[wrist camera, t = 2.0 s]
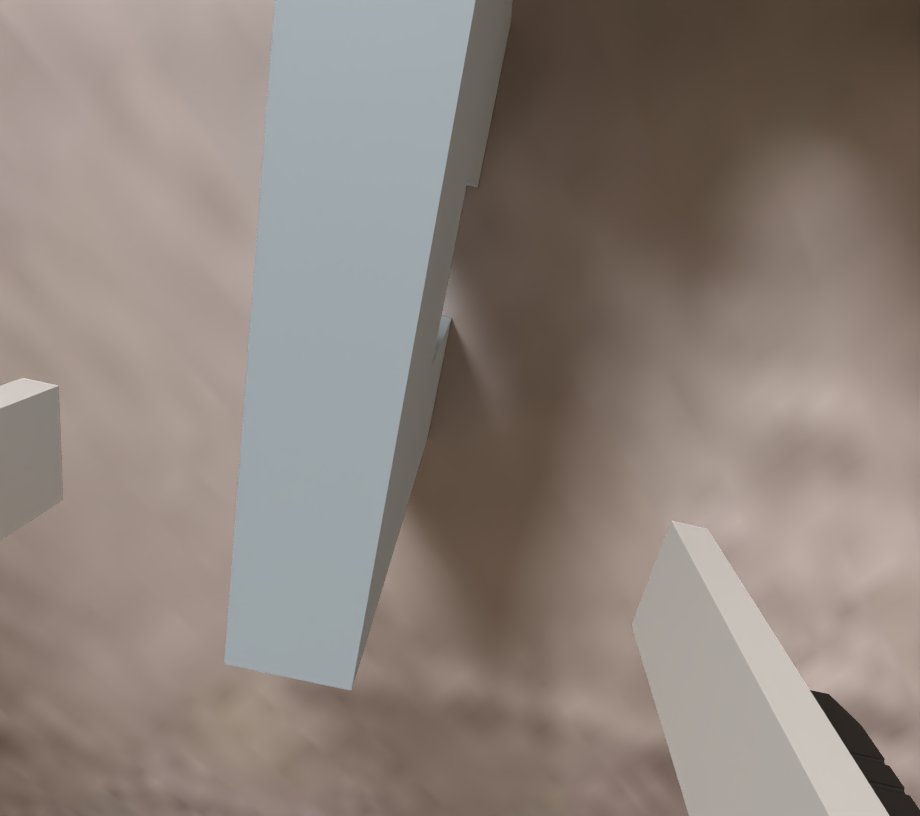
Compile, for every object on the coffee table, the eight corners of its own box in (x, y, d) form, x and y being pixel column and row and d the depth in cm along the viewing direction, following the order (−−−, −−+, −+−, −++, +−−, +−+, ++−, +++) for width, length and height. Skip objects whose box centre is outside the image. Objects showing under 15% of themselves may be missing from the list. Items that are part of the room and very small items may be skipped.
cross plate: (427, 439, 22) (351, 690, 11) (366, 426, 22) (224, 664, 10) (511, 19, 17) (538, -346, 6) (433, 2, 17) (305, -400, 6)
